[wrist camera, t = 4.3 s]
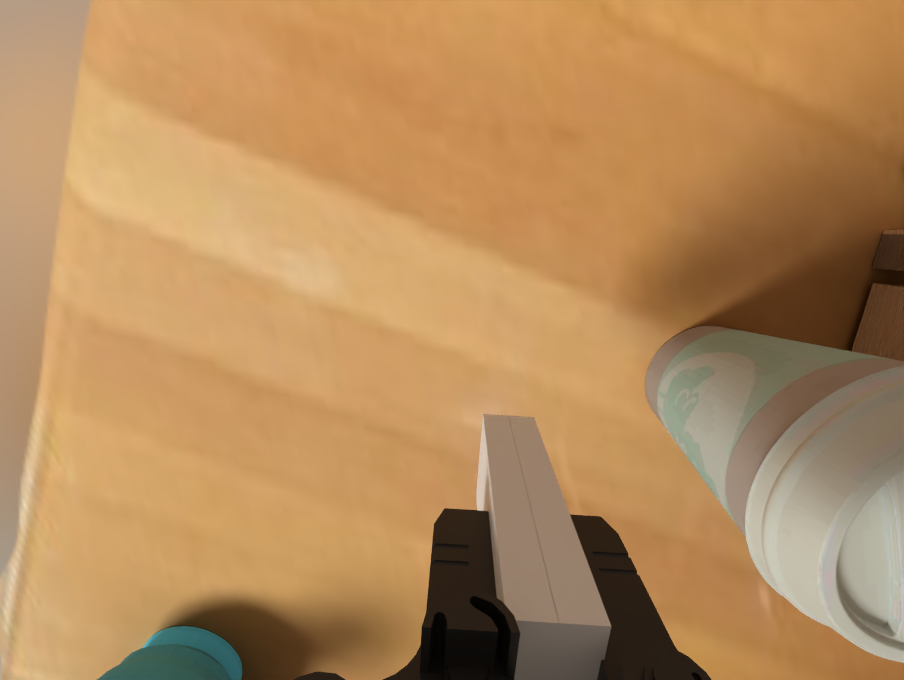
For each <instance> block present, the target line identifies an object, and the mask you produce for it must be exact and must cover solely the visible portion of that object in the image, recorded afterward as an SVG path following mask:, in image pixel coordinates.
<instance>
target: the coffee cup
mask: <svg viewBox="0 0 904 680" xmlns="http://www.w3.org/2000/svg"><path fill="white" fill-rule="evenodd" d="M645 391H646V397H647V400H648V403H649V405H650V407H651V409H652V410H653V412H654V413H655V414H656V416H657V417H658V418H659V420H660V421H661V423H662V424H663V425H664V427H665V428H666V430H667V431H668V432H669V434H670V435H671V436H672V438H673V439H674V440H675V442H676V443H677V445H678V446H679V447H680V449H681V450H682V451H683V453H684V454H685V455H686V457H687V458H688V460H689V461H690V462H691V464H692V465H693V466H694V468H695V469H696V470H697V472H698V473H699V475H700V476H701V477H702V479H703V480H704V481H705V483H706V484H707V485H708V487H709V488H710V489H711V491H712V492H713V494H714V495H715V496H716V498H717V499H718V500H719V502H720V503H721V504H722V506H723V507H724V509H725V510H726V511H727V513H728V514H729V515H730V517H731V518H732V519H733V521H734V522H735V523H736V525H737V526H738V528H739V529H740V530H741V532H742V533H743V534H744V536H745V537H746V540H747V545H748V549H749V552H750V555H751V557H752V560H753V562H754V564H755V566H756V568H757V569H758V571H759V572H760V574H761V575H762V577H763V578H764V579H765V580H766V582H767V583H768V584H769V585H770V586H771V587H772V588H773V589H774V590H776V591H777V592H778V593H779V594H780V595H782V596H783V597H785V598H786V599H787V600H788V601H789V602H790V603H791V604H793V605H794V606H795V607H796V608H797V609H798V610H800V611H801V612H802V613H804V614H805V615H807V616H809V617H810V618H812V619H814V620H816V621H818V622H819V623H822V624H824V625H826V626H829V627H831V628H832V629H834V630H835V631H836V632H838V633H839V634H841V635H842V636H843V637H845V638H846V639H848V640H849V641H850V642H852V643H854V644H855V645H857V646H858V647H860V648H861V649H863V650H865V651H867V652H870V653H872V654H874V655H877V656H879V657H883V658H886V659H889V660H893V661H898V662H903V663H904V361H899V360H894V359H889V358H883V357H878V356H873V355H868V354H862V353H857V352H852V351H847V350H841V349H836V348H831V347H826V346H821V345H815V344H810V343H805V342H800V341H794V340H789V339H784V338H779V337H774V336H768V335H763V334H758V333H753V332H747V331H742V330H736V329H731V328H725V327H719V326H701V327H695V328H692V329H689V330H686V331H684V332H682V333H680V334H678V335H676V336H674V337H673V338H671V339H670V340H669V341H668V342H666V343H665V344H664V345H663V346H662V347H661V348H660V349H659V350H658V352H657V353H656V354H655V356H654V357H653V359H652V361H651V363H650V365H649V368H648V371H647V374H646V380H645Z"/></svg>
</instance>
